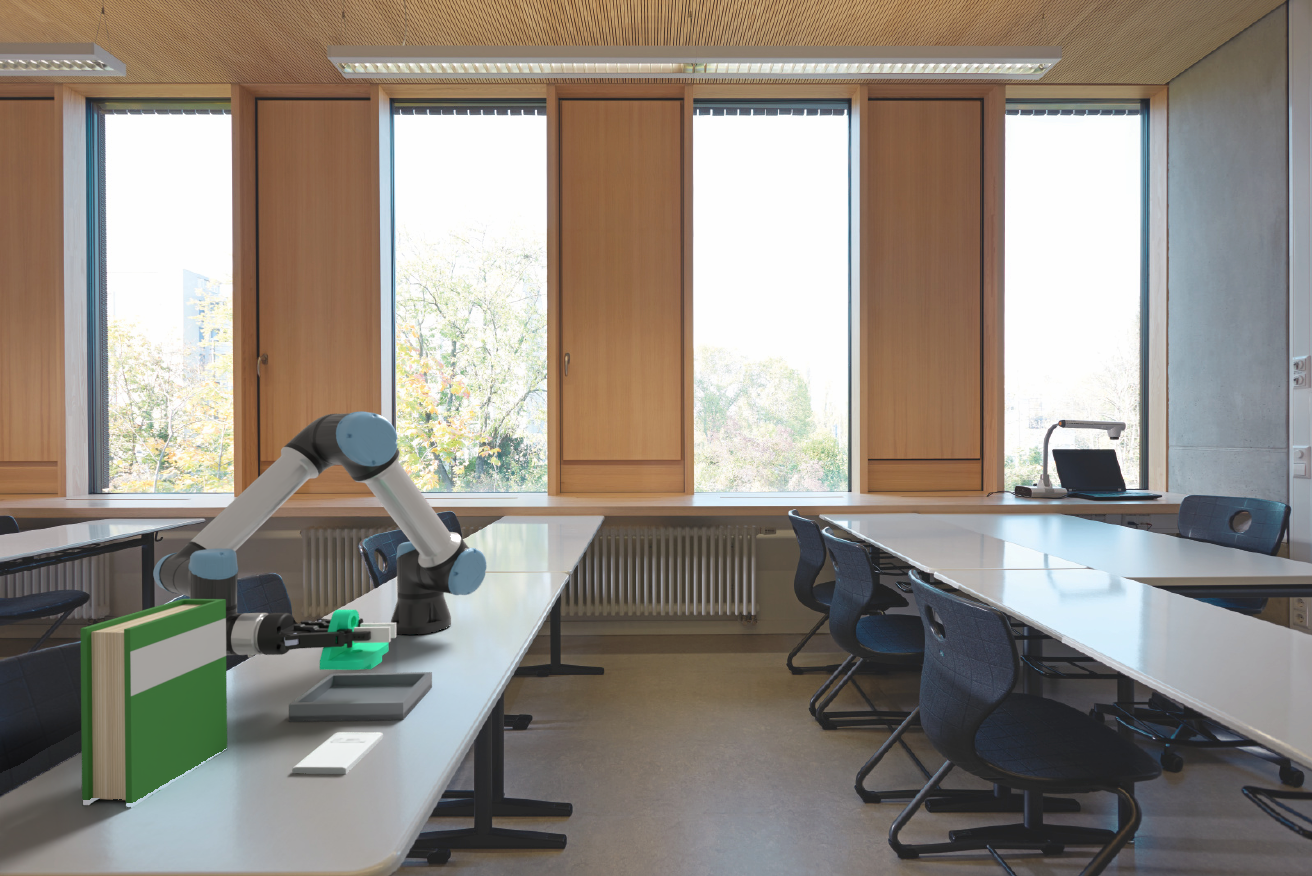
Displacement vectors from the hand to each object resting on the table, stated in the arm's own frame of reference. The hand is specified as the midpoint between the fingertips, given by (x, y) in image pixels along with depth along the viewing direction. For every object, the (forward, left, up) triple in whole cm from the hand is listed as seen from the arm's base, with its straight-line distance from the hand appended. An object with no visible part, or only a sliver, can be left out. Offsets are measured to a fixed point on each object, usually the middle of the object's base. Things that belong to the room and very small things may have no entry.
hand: (392, 632), depth 129 cm
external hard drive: (+21, -1, -14) cm, 25 cm away
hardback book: (+27, -24, -13) cm, 39 cm away
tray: (0, -5, -13) cm, 14 cm away
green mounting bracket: (0, -7, -6) cm, 9 cm away
